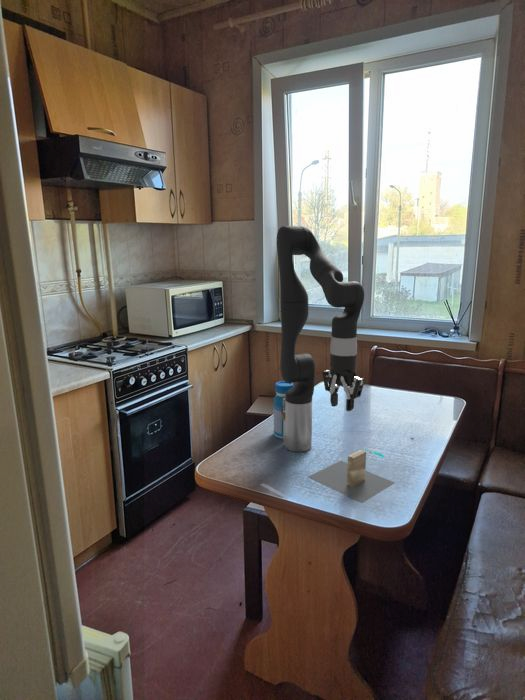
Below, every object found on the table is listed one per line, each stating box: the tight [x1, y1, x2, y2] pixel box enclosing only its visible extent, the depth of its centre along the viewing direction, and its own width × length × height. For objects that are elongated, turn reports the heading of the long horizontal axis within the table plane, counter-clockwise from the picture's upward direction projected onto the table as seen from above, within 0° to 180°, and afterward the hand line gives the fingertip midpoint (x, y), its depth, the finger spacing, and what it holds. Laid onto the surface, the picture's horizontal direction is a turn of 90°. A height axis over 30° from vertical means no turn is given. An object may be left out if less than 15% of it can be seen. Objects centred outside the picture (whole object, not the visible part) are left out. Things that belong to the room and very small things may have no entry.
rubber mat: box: [307, 460, 395, 504], centre depth 139 cm, size 20×16×1 cm
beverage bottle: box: [272, 380, 295, 439], centre depth 173 cm, size 8×8×20 cm
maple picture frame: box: [347, 449, 367, 487], centre depth 137 cm, size 2×6×9 cm, turn 132°
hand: (341, 407), depth 137 cm, fingers open, 5 cm apart
